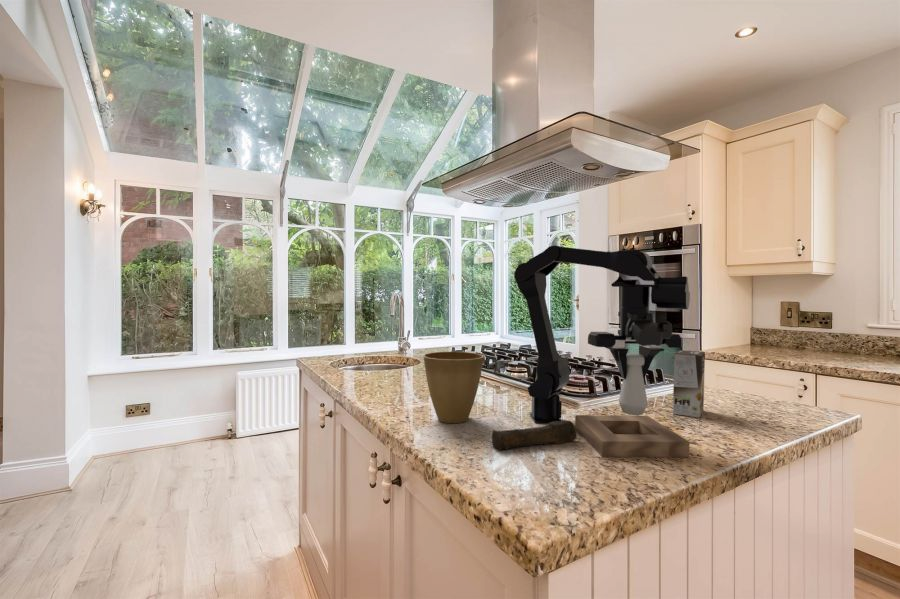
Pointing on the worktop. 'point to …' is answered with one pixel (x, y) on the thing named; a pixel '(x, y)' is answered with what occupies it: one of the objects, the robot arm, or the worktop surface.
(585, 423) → the socket board
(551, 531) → the worktop surface
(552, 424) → the dark brown log
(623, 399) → the salt shaker
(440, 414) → the plant pot
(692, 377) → the coffee box
